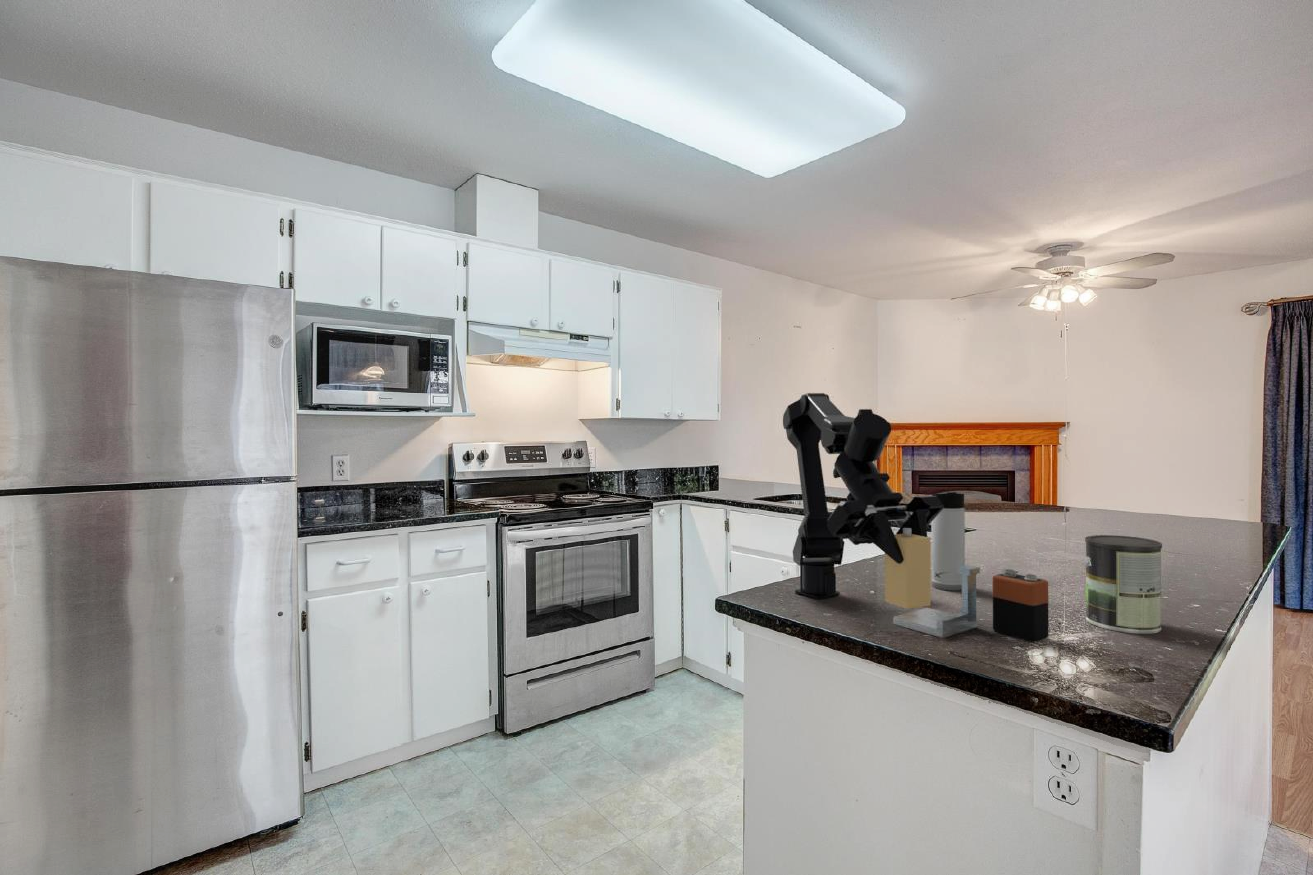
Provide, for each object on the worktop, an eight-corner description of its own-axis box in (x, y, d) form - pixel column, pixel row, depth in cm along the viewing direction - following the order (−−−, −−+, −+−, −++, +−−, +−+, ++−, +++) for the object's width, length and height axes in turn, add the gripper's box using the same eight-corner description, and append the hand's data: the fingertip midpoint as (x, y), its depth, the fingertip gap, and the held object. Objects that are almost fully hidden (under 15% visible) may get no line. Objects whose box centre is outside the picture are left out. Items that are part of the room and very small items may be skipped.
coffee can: (1078, 625, 105) (1078, 540, 105) (1093, 612, 113) (1092, 533, 112) (1157, 638, 98) (1156, 548, 98) (1166, 624, 105) (1166, 539, 105)
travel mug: (936, 590, 128) (936, 492, 128) (928, 583, 135) (927, 489, 135) (969, 591, 127) (969, 492, 127) (959, 584, 134) (959, 489, 134)
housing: (884, 601, 96) (884, 527, 96) (908, 598, 98) (907, 525, 97) (906, 608, 92) (906, 531, 92) (930, 605, 93) (930, 529, 93)
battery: (1007, 627, 105) (1007, 566, 105) (1049, 638, 99) (1049, 574, 99) (991, 631, 103) (991, 569, 103) (1033, 643, 97) (1032, 577, 97)
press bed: (893, 623, 107) (892, 564, 107) (927, 614, 112) (927, 558, 112) (945, 638, 99) (945, 575, 99) (980, 627, 104) (979, 567, 104)
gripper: (885, 508, 112) (933, 584, 102) (795, 514, 105) (837, 596, 95) (918, 466, 105) (973, 543, 95) (824, 469, 98) (873, 553, 88)
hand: (914, 560), depth 93 cm, fingers closed on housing, 4 cm apart
